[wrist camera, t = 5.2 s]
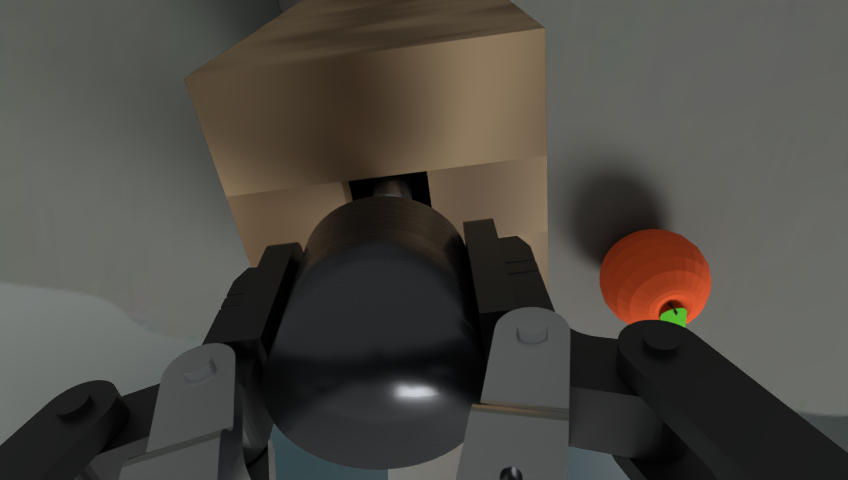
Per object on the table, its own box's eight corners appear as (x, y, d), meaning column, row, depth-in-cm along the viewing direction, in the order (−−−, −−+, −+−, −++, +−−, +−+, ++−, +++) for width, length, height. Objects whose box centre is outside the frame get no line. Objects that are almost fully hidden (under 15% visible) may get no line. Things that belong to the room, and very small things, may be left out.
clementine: (686, 288, 40) (735, 352, 34) (596, 310, 41) (627, 377, 35) (680, 199, 37) (733, 254, 30) (580, 226, 38) (612, 284, 31)
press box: (496, -65, 28) (611, -52, 12) (507, 147, 34) (593, 347, 18) (277, -32, 29) (99, 23, 12) (326, 170, 35) (250, 384, 19)
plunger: (457, -3, 28) (581, 194, 7) (468, 124, 31) (573, 497, 11) (327, 16, 28) (98, 255, 8) (352, 140, 32) (243, 528, 11)
